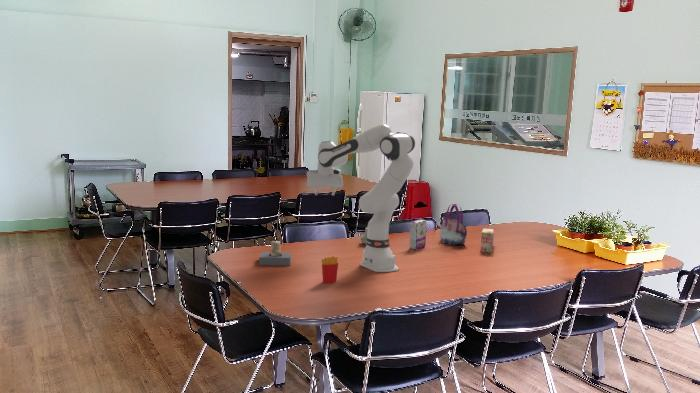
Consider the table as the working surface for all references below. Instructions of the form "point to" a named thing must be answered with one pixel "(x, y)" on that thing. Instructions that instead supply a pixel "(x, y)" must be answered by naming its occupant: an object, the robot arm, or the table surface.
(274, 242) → the tan tall block
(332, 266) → the french fries
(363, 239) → the air freshener
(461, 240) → the handbag
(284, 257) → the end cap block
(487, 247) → the beige snack box
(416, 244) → the candy bar box
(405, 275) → the table surface
